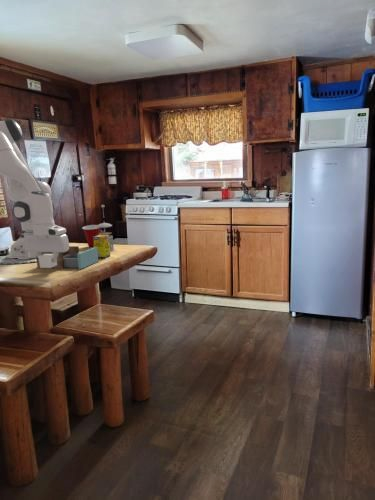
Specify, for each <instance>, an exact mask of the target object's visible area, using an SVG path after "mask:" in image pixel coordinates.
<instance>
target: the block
mask: <svg viewBox="0 0 375 500" xmlns="http://www.w3.org/2000/svg"><path fill="white" fill-rule="evenodd" d="M53 257H54V255H53V254H44V255H41V256H39V263H40V268H39V269H50V268H51V267H54V266H56V265H57V262H52V258H53Z"/></svg>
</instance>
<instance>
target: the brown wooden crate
mask: <svg viewBox="0 0 375 500" xmlns="http://www.w3.org/2000/svg"><path fill="white" fill-rule="evenodd" d="M71 253H72V254H78V253H80V250H79V246H78V245H77V246H76V245H74V246H72V245H71V246H70V245H69V250H68V251H66V252H59V255H58V257H57V265H56V266H54V267H51V268H49V269H54V270H55V269H56V270H57V269H58V270H63V269H65V267H64V262H63V256H66V255H68V254H71ZM44 254H53V252H41V255H44ZM35 259H36V266H37V269H41V268H40V263H39V259H38V257H37V256H36V258H35Z"/></svg>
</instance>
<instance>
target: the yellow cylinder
mask: <svg viewBox="0 0 375 500" xmlns="http://www.w3.org/2000/svg"><path fill="white" fill-rule="evenodd" d="M109 235H110V234H109ZM109 235H98V236H95V237H93V239H94V247H97V252H98V259H107V258H109V257H111V252H110V244H109ZM94 247H93V248H94Z"/></svg>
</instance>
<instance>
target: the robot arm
mask: <svg viewBox="0 0 375 500" xmlns="http://www.w3.org/2000/svg"><path fill="white" fill-rule="evenodd" d="M22 139H23V131H22V128H21V125H19V123H17V121H16V120H15V119H13V118H8V119H4V120H0V175H1V176H3V177H5V178H7V183H8V186H7V187H6V195H7V197H8V199H9V200H10V201H12V202H14V204H13V207H12V215H13V217H14V218H15V220H16V221H18V222H20V224H21V225H20V226H21V230H20V231H17V234H18V235H19V238H18V239H16V241H15V242H13V243H12V244H11V246H10V249H9V251H10V253H9V254H7V255H6V256H5V258H6V257H7V258H6V259H13V258H18V259H17V260H30V258H31V259H36V256H37V257H38V259H39V256H41V252H53V255H54V257H53V258H52V262H57V257H58V255H59V252H66V251H68V250H69V246H70V242H69V238H68V235H67V234H66V233H67V228H65V227H63V226H60V225H57V224H55V219H54V214H55V212H56V210H55V209H56V208H55V205H54V203H53V201H52V197H51V196H52V189H51V186H50V184H48V183H47V182H44V181H41V180H38V179H37V177H36V176H35V174H34V173H33V171H32V170H31V169H30V168H29V166H28V163H27V160H25V158H24V155H23V154H22V152H21V150H20V149H19V146H18V145H17V144H18V143H19V142H21V140H22Z"/></svg>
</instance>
